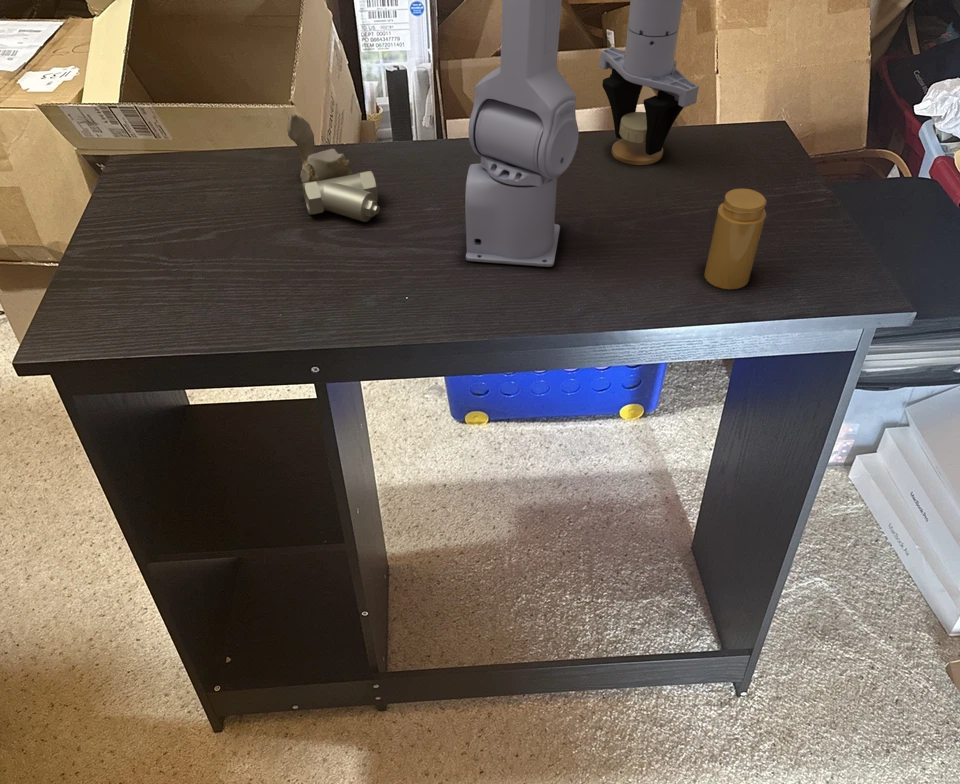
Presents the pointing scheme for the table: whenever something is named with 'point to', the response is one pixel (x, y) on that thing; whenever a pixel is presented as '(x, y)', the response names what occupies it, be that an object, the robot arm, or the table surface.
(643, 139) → the jar lid
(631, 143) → the coaster
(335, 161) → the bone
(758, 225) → the jar
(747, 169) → the table surface
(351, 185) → the pipe fitting
